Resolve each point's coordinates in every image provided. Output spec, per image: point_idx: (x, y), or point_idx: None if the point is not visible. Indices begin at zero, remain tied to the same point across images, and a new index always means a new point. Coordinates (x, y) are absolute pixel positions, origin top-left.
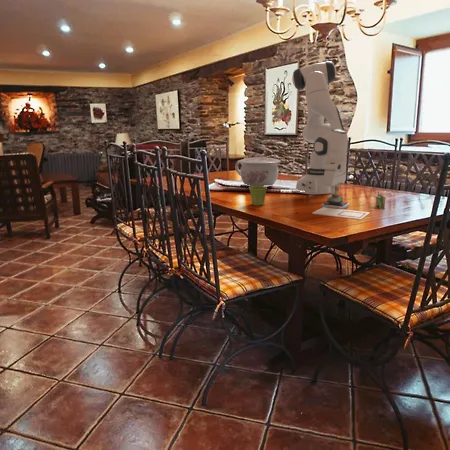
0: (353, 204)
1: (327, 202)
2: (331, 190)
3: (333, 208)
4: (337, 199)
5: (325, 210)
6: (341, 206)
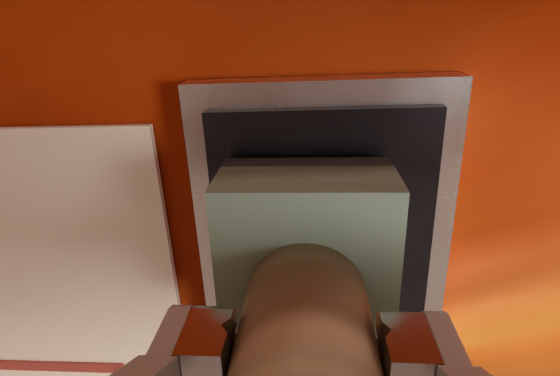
0: (528, 353)
1: (290, 141)
2: (149, 361)
3: (162, 253)
4: None
5: (11, 214)
6: None
